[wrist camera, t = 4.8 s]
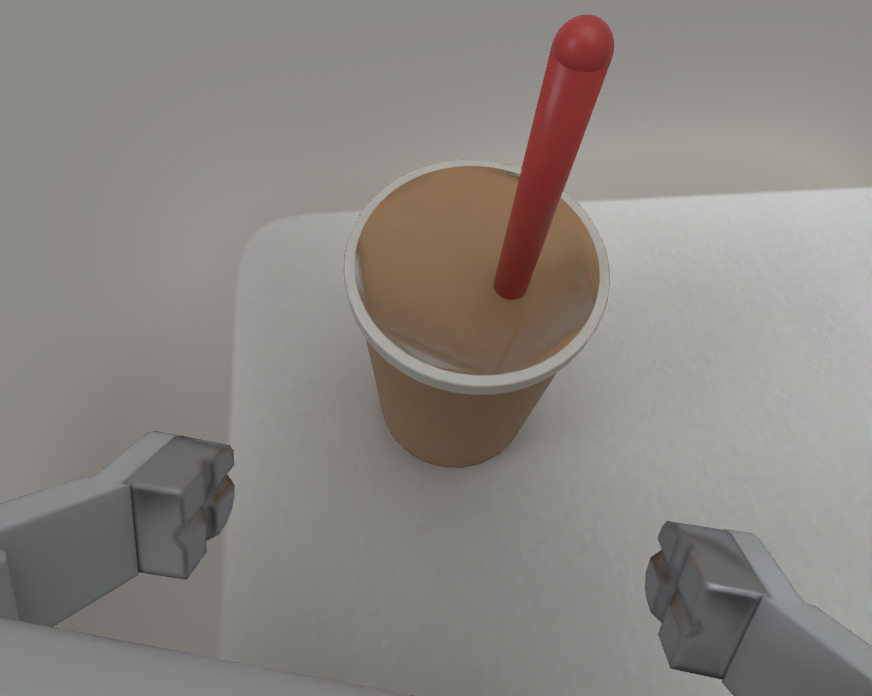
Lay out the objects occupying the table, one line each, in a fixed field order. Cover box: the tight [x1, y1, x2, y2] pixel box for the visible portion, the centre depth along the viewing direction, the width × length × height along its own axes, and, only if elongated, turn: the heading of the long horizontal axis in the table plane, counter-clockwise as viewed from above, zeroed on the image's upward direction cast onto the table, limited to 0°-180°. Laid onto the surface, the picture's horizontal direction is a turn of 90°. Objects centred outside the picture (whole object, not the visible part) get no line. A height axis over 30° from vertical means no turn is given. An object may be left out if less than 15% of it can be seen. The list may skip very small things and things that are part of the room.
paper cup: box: [344, 15, 614, 467], centre depth 14 cm, size 6×6×16 cm
